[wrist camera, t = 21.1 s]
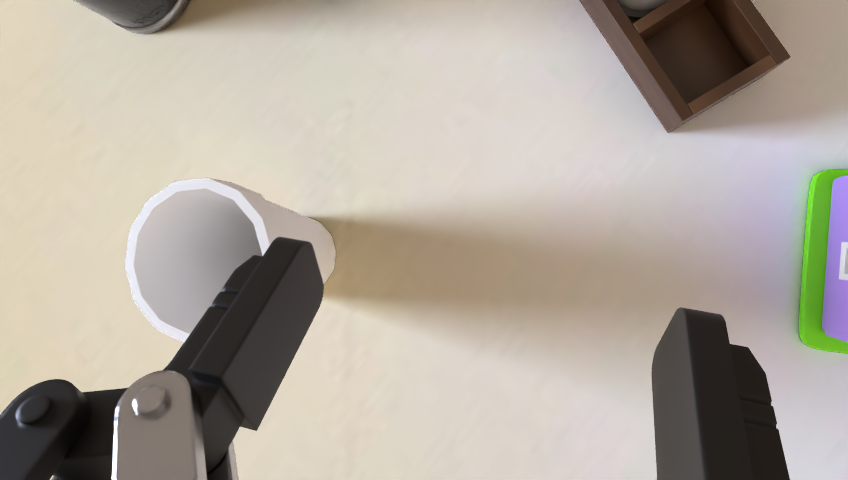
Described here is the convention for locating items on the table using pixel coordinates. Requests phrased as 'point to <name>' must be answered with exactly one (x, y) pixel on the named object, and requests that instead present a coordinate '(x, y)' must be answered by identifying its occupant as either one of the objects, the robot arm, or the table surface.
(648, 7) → the rook chess piece
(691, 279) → the table surface
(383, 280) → the table surface
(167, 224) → the foam cup
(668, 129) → the compartment tray
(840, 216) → the toy room diorama
